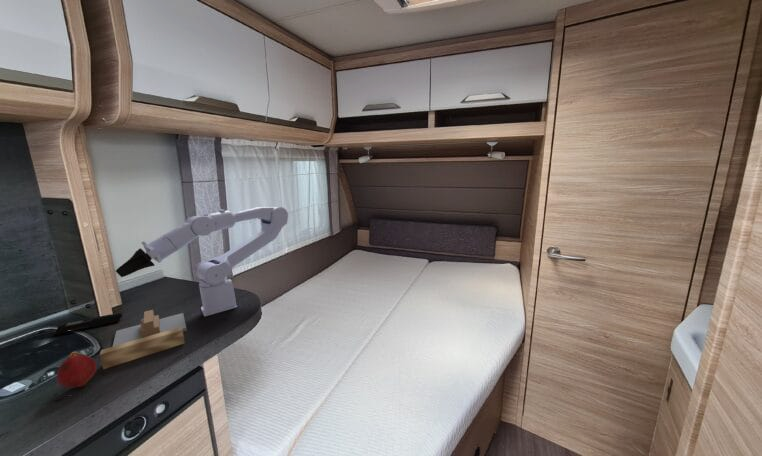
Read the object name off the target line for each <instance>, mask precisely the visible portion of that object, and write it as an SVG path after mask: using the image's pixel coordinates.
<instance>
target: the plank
mask: <svg viewBox="0 0 762 456" xmlns="http://www.w3.org/2000/svg"><path fill="white" fill-rule="evenodd" d="M185 343H186V342H185V336H184V332H183V331H182V327H179V328H175V329H172V330H168V331H165V332H161V333H158V334H155V335H151V336H148V337H144V338H141V339H137V340H134V341H131V342H127V343H124V344H120V345H117V346H113V345H112V346H113V347H112V346H110V347H107V348H104V349H101V350H100V353H99V357H100V358H99V359H100V361H101V365H102V370H106V369H108V368H111V367H115V366H118V365H121V364H125V363H127V362H131V361H134V360H137V359H140V358H143V357H146V356H149V355H152V354H155V353H159V352H163V351H165V350H169V349H172V348H174V347H177V346H180V345H184V344H185Z"/></svg>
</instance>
